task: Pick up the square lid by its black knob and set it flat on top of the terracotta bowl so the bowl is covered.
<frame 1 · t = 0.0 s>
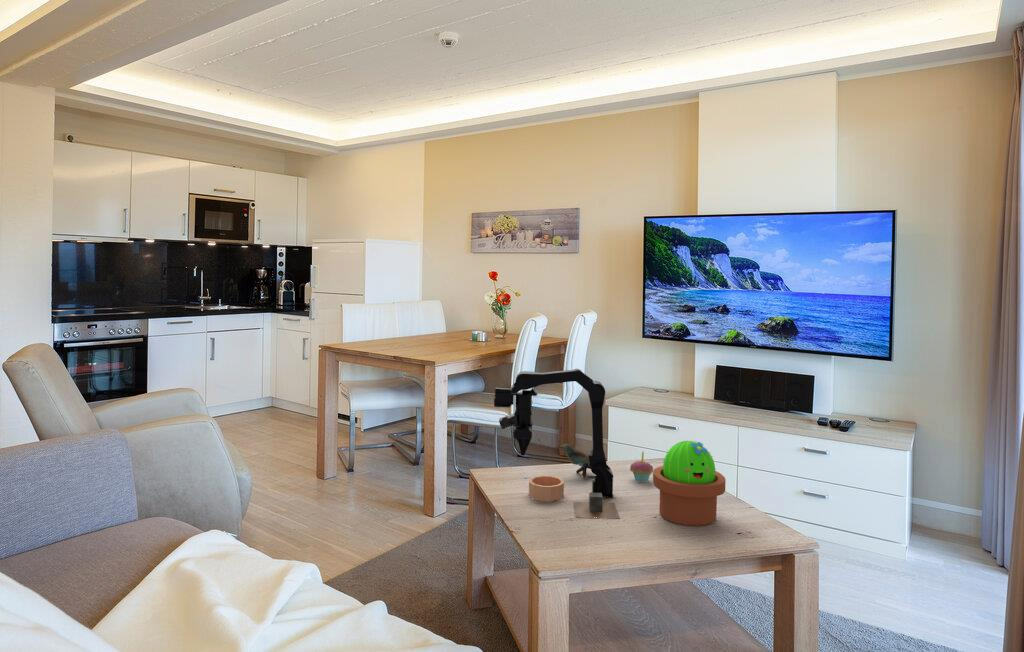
hand: (523, 451, 220), 15 cm above the table, tool pointing down, fingers open, 9 cm apart
bird figurine: (584, 475, 242), on the table
lid: (595, 512, 205), on the table
cupcake: (641, 480, 236), on the table
potted cactus: (687, 516, 201), on the table
bowl: (546, 495, 218), on the table
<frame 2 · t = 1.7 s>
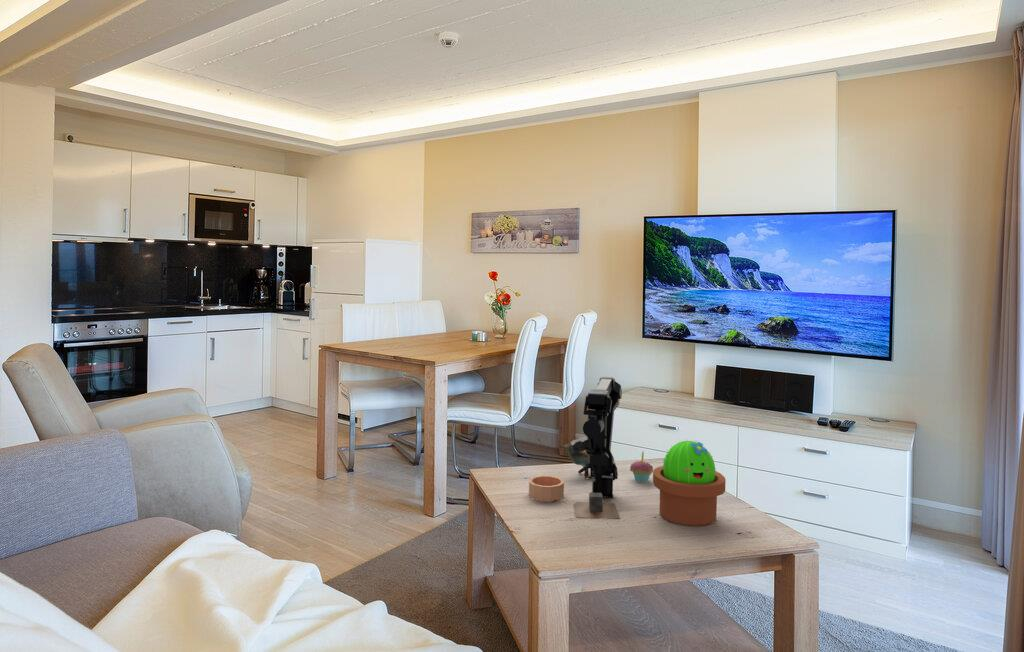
hand: (596, 477, 204), 11 cm above the table, tool pointing down, fingers open, 9 cm apart
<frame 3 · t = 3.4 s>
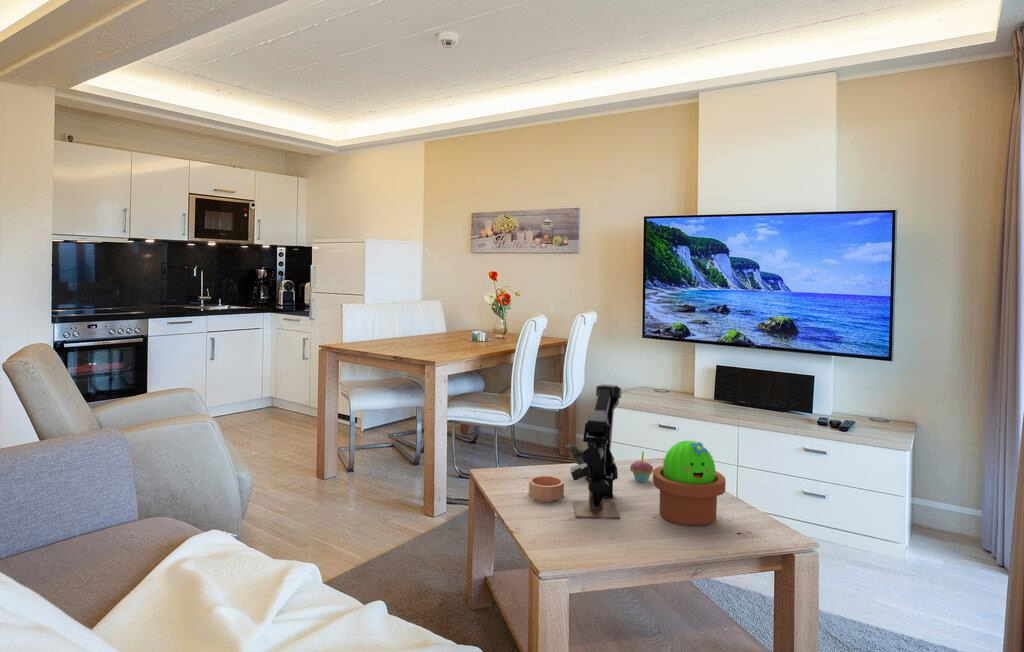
hand: (595, 504, 205), 2 cm above the table, tool pointing down, fingers closed on lid, 4 cm apart
lid: (595, 510, 205), on the table, touching gripper
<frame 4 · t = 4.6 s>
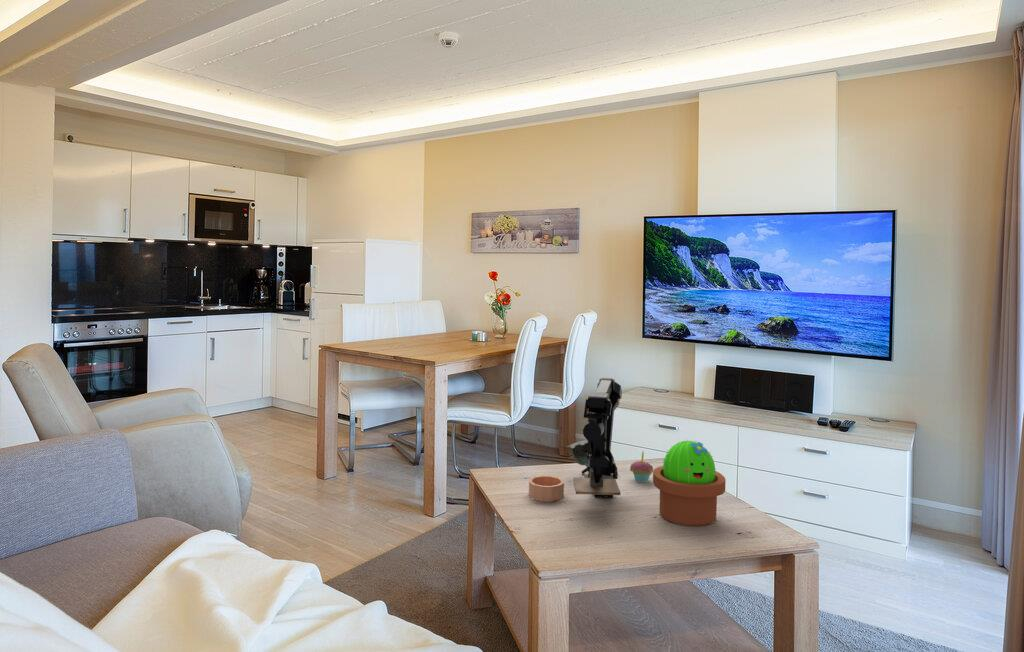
hand: (596, 480, 204), 10 cm above the table, tool pointing down, fingers closed on lid, 4 cm apart
lid: (596, 487, 204), point 8 cm above the table, touching gripper
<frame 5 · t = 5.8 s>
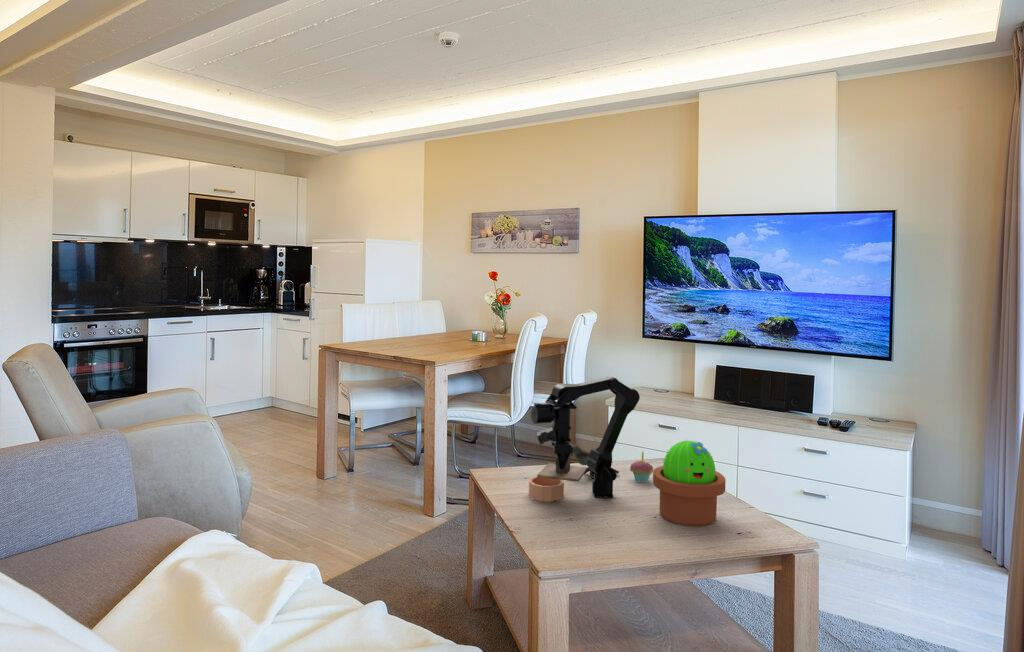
hand: (560, 467, 213), 11 cm above the table, tool pointing down, fingers closed on lid, 5 cm apart
lid: (562, 473, 213), point 9 cm above the table, touching gripper
when the fingers open (8 cm above the table, at t = 7.5 s): lid drops 1 cm, resting on bowl.
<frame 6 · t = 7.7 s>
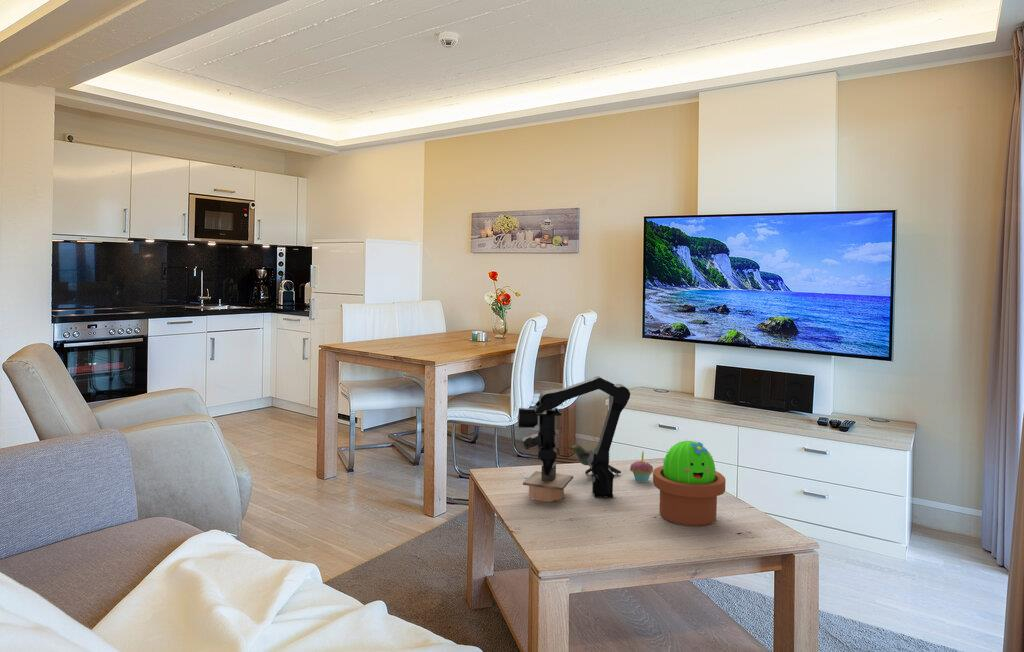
hand: (546, 471, 218), 8 cm above the table, tool pointing down, fingers open, 7 cm apart
lid: (548, 481, 218), point 5 cm above the table, touching bowl
bowl: (546, 495, 218), on the table, touching lid
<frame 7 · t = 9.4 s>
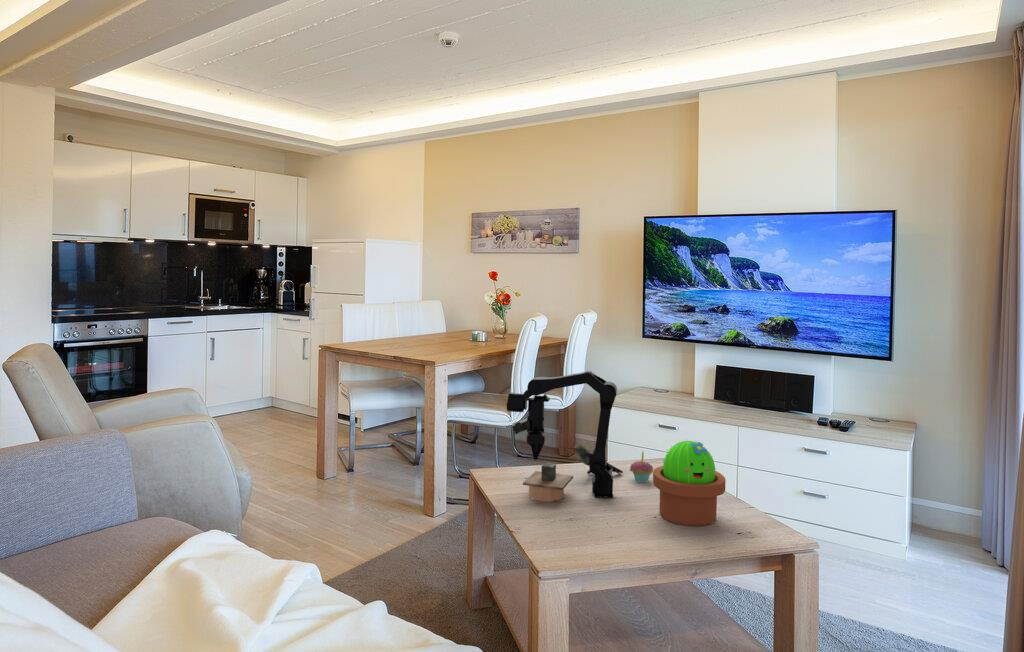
hand: (535, 456, 224), 12 cm above the table, tool pointing down, fingers open, 9 cm apart
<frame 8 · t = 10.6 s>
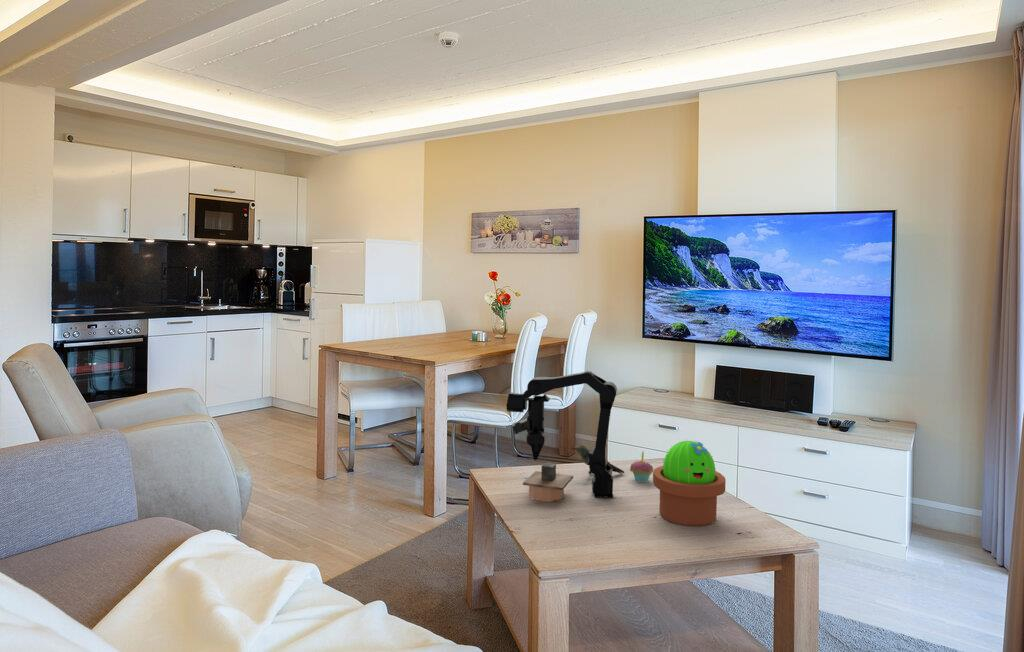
hand: (535, 456, 224), 12 cm above the table, tool pointing down, fingers open, 9 cm apart
at the end: lid 0.7 cm off-centre on the bowl, point 5.0 cm above the bowl's base; lid tilted 0°; the gripper is holding nothing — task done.
